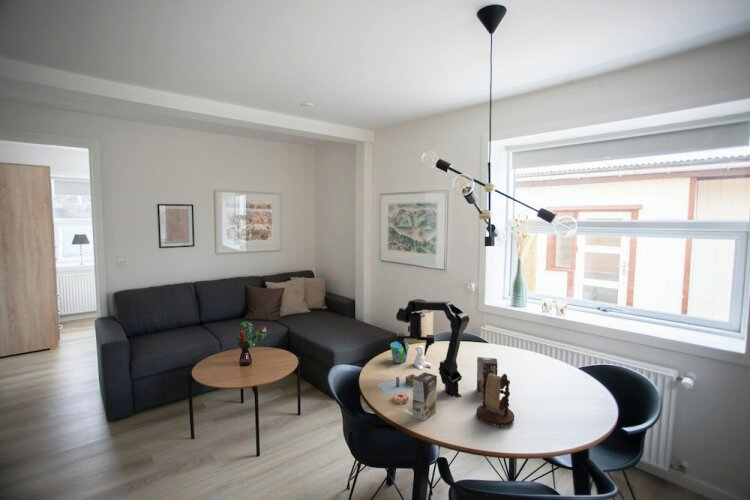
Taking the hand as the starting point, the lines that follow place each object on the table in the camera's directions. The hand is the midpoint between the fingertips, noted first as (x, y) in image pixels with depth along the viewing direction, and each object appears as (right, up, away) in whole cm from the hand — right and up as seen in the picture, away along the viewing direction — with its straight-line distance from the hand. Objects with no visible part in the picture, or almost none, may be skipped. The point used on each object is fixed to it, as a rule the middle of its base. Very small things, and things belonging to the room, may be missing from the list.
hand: (415, 355), depth 184 cm
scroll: (+29, -17, -34) cm, 47 cm away
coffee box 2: (+32, -15, -12) cm, 37 cm away
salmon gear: (-9, -15, -20) cm, 27 cm away
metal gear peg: (-9, -13, -7) cm, 18 cm away
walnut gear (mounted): (-2, -13, -4) cm, 14 cm away
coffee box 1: (0, -16, -30) cm, 34 cm away
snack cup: (-6, -11, +26) cm, 29 cm away
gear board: (-7, -14, -6) cm, 17 cm away
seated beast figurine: (+5, -12, +18) cm, 22 cm away
